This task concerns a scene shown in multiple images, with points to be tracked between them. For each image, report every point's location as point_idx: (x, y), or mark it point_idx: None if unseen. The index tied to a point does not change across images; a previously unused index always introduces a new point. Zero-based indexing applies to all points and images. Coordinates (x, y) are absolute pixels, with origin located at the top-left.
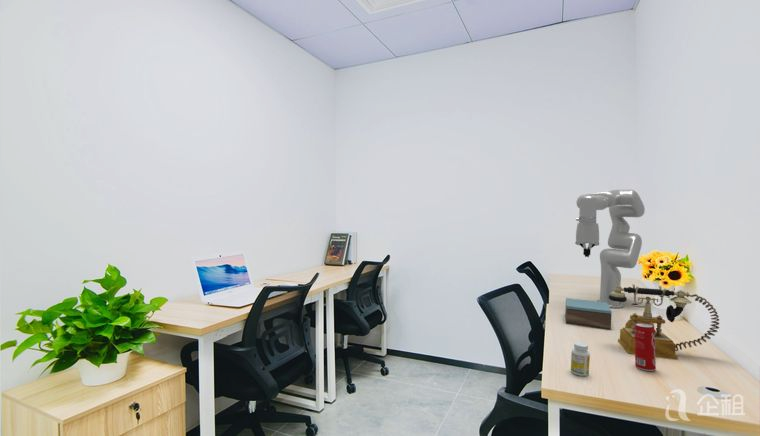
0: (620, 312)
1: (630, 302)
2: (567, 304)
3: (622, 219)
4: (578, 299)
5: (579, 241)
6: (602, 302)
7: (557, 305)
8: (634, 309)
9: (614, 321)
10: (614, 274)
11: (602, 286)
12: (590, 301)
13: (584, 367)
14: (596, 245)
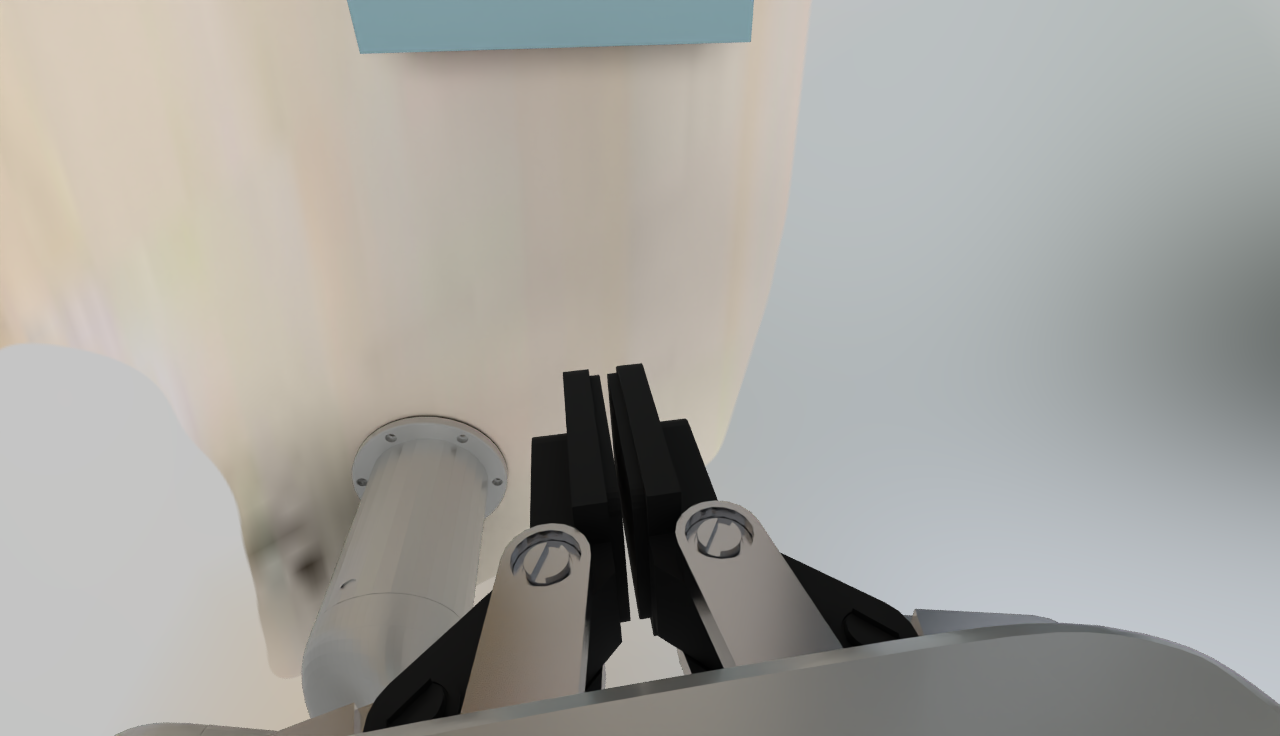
0: (346, 340)
1: None
2: None
3: None
4: (633, 40)
5: (1131, 668)
6: (403, 28)
7: (742, 295)
8: (285, 459)
9: (339, 34)
10: (341, 637)
11: (459, 544)
12: (518, 6)
13: None
14: (301, 729)
